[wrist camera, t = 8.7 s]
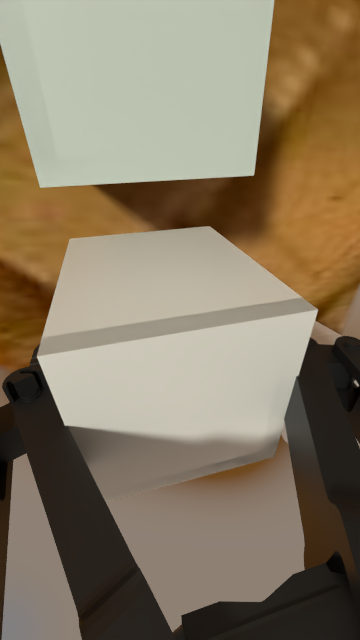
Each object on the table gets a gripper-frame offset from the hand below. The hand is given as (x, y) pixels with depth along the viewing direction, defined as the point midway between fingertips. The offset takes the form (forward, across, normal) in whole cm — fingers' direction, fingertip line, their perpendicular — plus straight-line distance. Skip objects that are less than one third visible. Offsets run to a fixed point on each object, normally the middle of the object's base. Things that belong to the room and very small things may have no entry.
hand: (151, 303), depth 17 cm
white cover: (+1, 0, 0) cm, 1 cm away
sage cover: (+7, 0, +11) cm, 13 cm away
